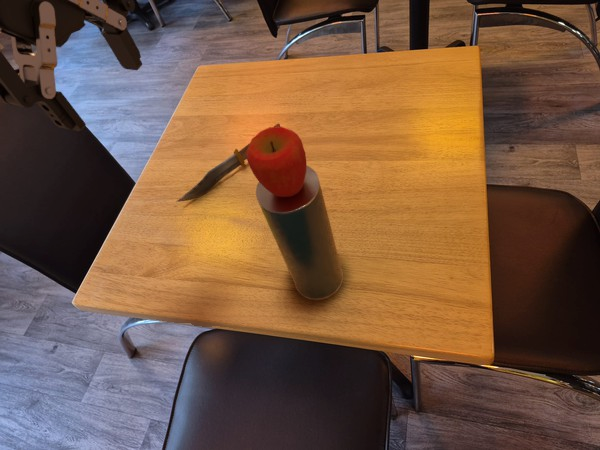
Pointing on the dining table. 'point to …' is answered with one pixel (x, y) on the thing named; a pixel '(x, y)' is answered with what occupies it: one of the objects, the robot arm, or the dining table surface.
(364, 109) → the dining table surface
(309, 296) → the tin can
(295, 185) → the apple
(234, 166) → the knife
